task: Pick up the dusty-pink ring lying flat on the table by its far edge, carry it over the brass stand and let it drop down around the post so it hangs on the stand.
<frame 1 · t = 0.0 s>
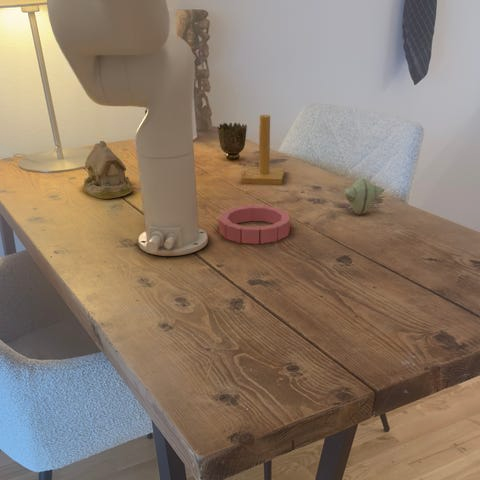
green seashell: (359, 215, 114), on the table
candle: (162, 167, 143), on the table
cup: (232, 160, 147), on the table
ceramic model: (110, 190, 129), on the table
pink ring: (254, 230, 107), on the table
stand: (264, 178, 134), on the table
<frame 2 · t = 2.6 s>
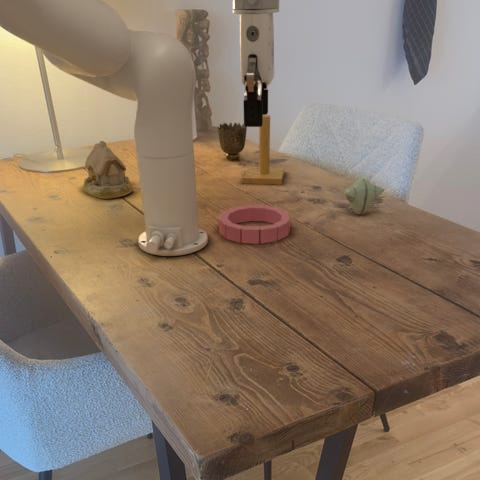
hand: (256, 120, 101), 18 cm above the table, tool pointing down, fingers open, 9 cm apart
nothing on the table moved.
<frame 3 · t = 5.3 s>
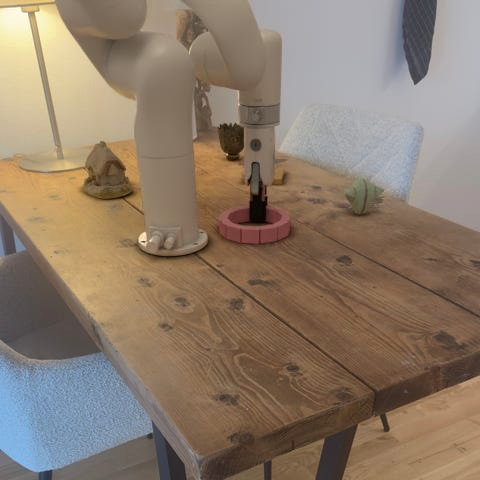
hand: (258, 218, 112), 0 cm above the table, tool pointing down, fingers closed on pink ring
pink ring: (254, 230, 107), on the table, touching gripper
everything else where it was.
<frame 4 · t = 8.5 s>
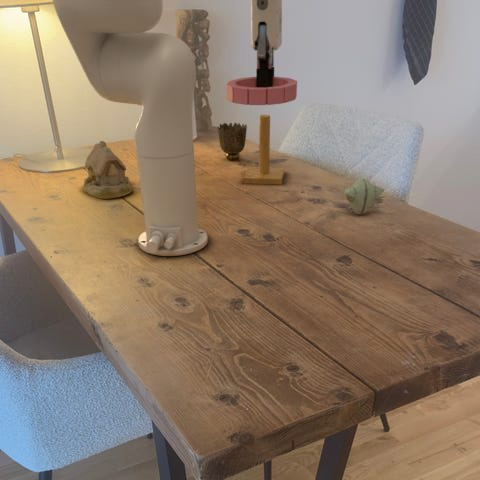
hand: (265, 90, 113), 20 cm above the table, tool pointing down, fingers closed on pink ring
pink ring: (261, 98, 109), point 19 cm above the table, touching gripper
everything else where it was.
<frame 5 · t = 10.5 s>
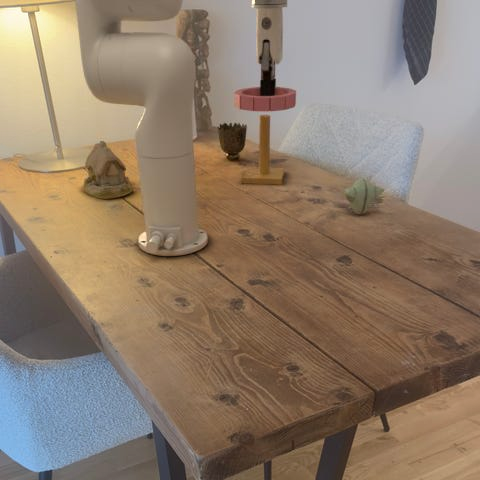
hand: (267, 99, 128), 16 cm above the table, tool pointing down, fingers closed on pink ring
pink ring: (265, 105, 124), point 15 cm above the table, touching gripper
everything else where it was.
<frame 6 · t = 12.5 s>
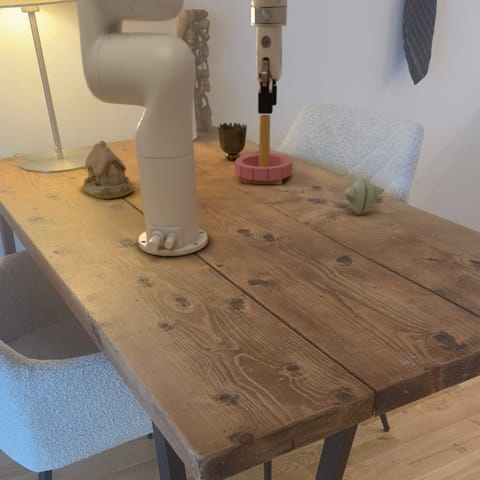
hand: (267, 109, 130), 13 cm above the table, tool pointing down, fingers open, 9 cm apart
pink ring: (263, 172, 133), point 1 cm above the table, touching stand
everything else where it was.
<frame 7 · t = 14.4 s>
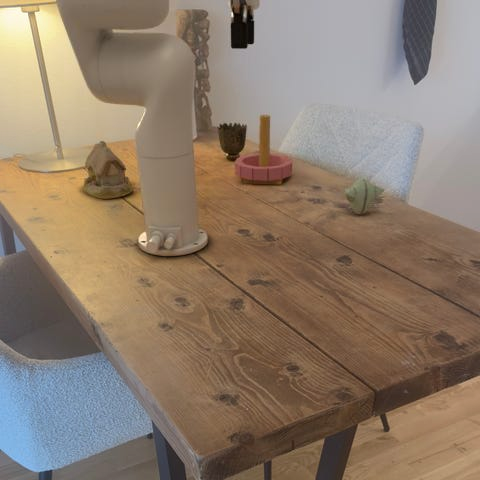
hand: (242, 46, 113), 27 cm above the table, tool pointing down, fingers open, 9 cm apart
nothing on the table moved.
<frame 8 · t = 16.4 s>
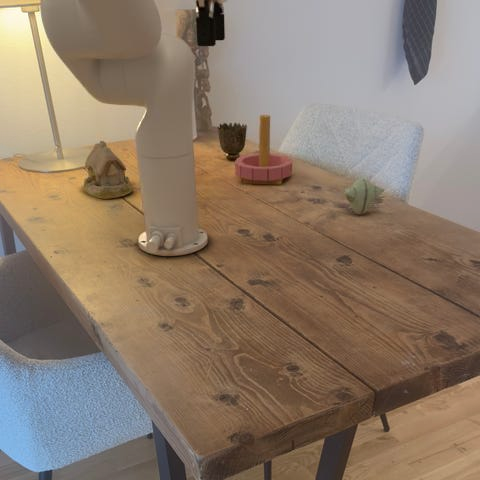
hand: (211, 42, 103), 28 cm above the table, tool pointing down, fingers open, 9 cm apart
nothing on the table moved.
at the end: pink ring 0.4 cm from the stand (horizontally); pink ring point 1.2 cm above the table; the gripper is holding nothing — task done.
